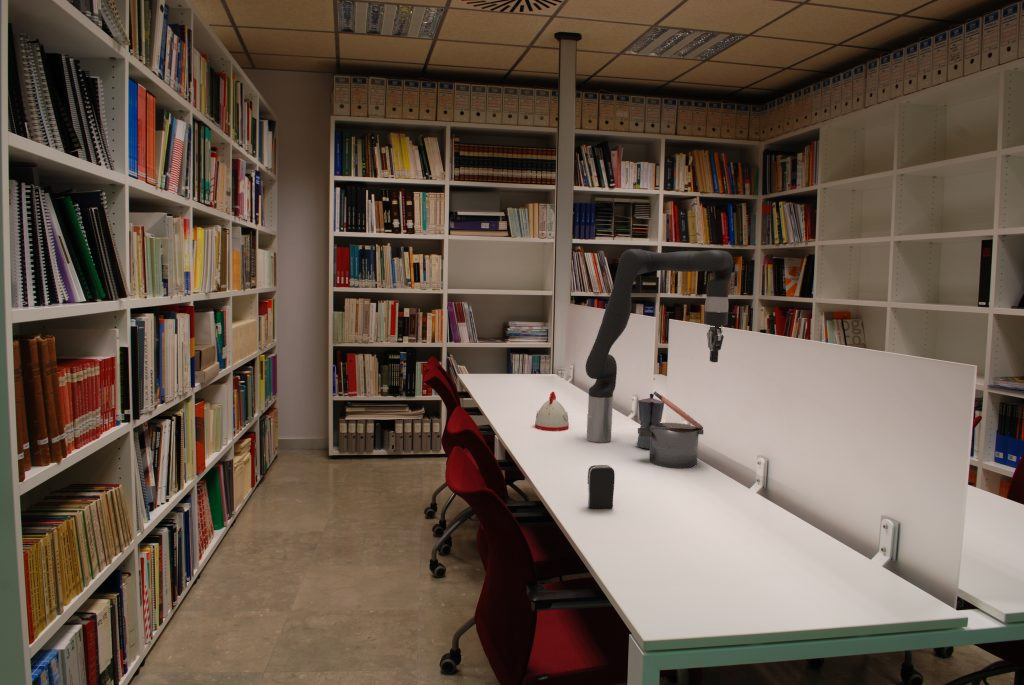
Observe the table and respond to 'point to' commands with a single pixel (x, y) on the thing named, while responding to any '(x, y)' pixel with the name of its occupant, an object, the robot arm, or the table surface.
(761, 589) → the table surface
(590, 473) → the battery charger
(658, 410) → the moka pot
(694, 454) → the cooker pot
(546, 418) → the kitchen timer
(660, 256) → the robot arm
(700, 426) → the lid
